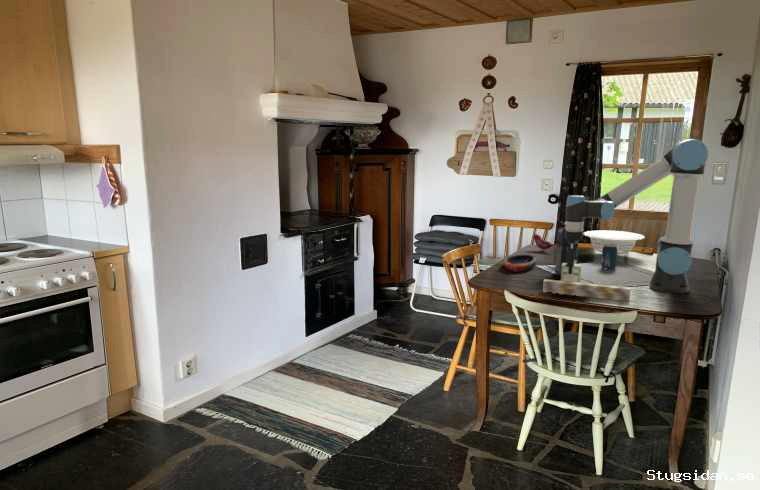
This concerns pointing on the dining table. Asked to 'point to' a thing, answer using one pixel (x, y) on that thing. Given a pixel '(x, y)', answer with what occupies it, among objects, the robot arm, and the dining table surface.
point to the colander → (613, 239)
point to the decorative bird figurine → (542, 243)
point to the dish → (519, 262)
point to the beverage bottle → (562, 250)
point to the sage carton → (576, 273)
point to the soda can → (609, 256)
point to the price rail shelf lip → (587, 290)
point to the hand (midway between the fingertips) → (571, 277)
